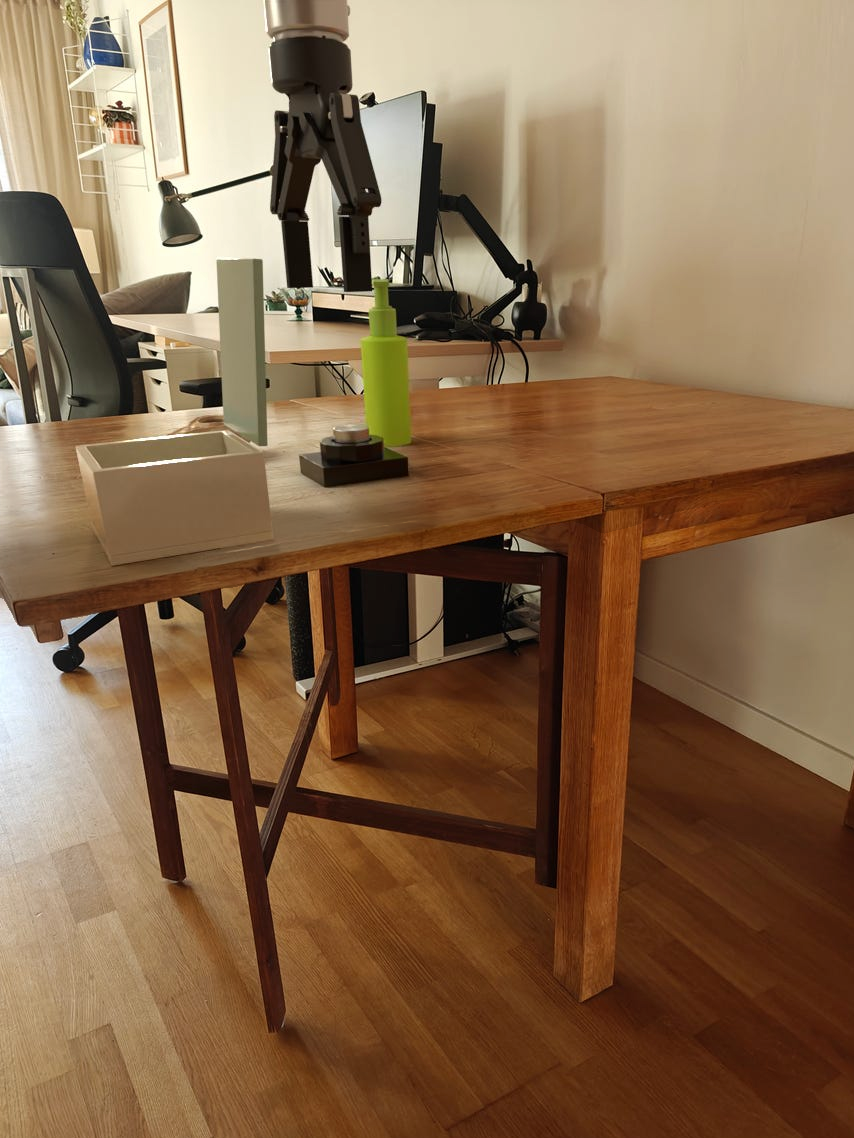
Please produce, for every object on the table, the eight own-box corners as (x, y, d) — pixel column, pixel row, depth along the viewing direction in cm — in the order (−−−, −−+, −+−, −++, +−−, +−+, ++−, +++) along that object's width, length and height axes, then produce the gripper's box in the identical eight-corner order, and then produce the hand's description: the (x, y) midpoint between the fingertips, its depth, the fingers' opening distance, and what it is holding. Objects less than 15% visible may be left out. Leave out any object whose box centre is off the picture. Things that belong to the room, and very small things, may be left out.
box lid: (252, 258, 67) (262, 259, 68) (216, 258, 77) (225, 258, 77) (258, 446, 73) (267, 446, 73) (223, 425, 82) (232, 425, 82)
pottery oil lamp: (138, 466, 101) (135, 407, 102) (225, 481, 111) (221, 427, 111) (181, 447, 96) (177, 385, 97) (268, 465, 106) (264, 408, 106)
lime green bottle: (408, 435, 119) (401, 278, 110) (413, 445, 112) (406, 279, 104) (365, 437, 118) (355, 279, 109) (368, 448, 111) (357, 280, 103)
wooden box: (111, 566, 70) (92, 471, 67) (92, 530, 80) (75, 445, 76) (273, 539, 76) (263, 451, 73) (238, 509, 86) (228, 429, 82)
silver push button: (341, 448, 94) (340, 432, 93) (328, 442, 97) (327, 426, 97) (375, 444, 96) (374, 428, 95) (361, 438, 99) (360, 422, 98)
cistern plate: (324, 488, 93) (321, 451, 91) (300, 473, 99) (297, 438, 97) (408, 476, 97) (407, 440, 96) (380, 462, 104) (378, 429, 102)
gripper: (413, 20, 72) (421, 292, 81) (292, 68, 91) (310, 285, 100) (331, 7, 68) (349, 294, 77) (223, 60, 87) (247, 287, 96)
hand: (327, 290), depth 88 cm, fingers open, 13 cm apart
